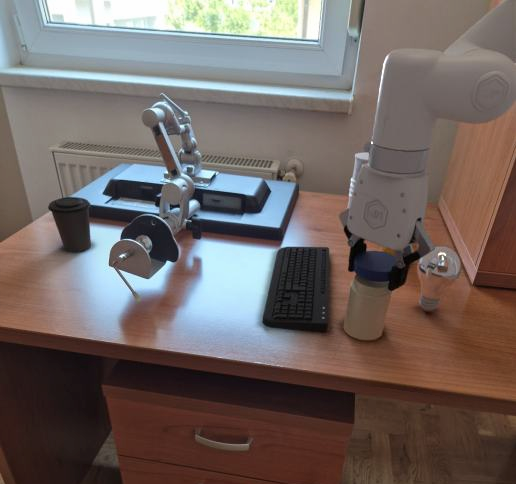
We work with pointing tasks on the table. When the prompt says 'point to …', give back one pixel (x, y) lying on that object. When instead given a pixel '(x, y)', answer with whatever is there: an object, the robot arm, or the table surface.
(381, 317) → the jar
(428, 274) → the light bulb
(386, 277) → the lid
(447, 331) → the table surface
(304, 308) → the keyboard
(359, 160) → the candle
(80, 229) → the coffee cup
